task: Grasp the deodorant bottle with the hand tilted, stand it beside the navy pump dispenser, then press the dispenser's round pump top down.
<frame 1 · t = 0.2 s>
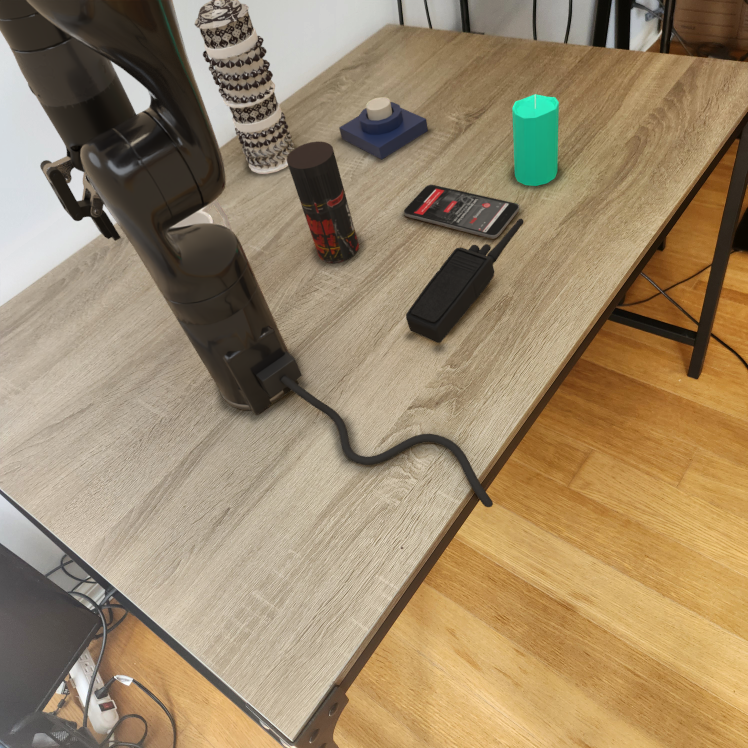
hand: (148, 216, 73), 18 cm above the table, tool pointing down, fingers open, 8 cm apart
smartphone: (460, 213, 91), on the table
dispenser: (384, 135, 109), on the table
deodorant: (338, 250, 91), on the table
decorative candle: (273, 160, 111), on the table
candle: (535, 174, 94), on the table
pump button: (379, 109, 105), point 5 cm above the table, slide at 0.1 cm
cup: (220, 279, 92), on the table
walkie-talkie: (469, 291, 81), on the table
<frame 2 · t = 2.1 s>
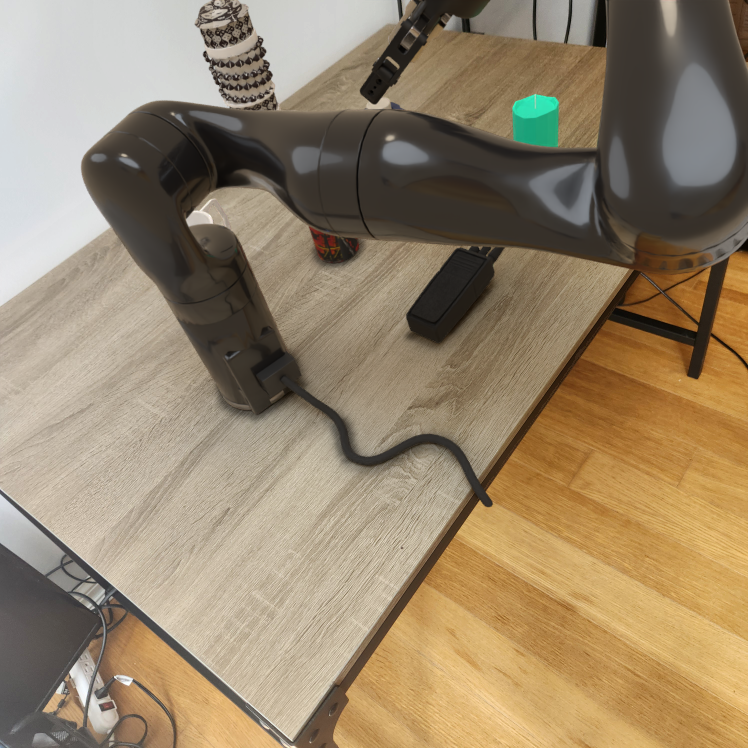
hand: (382, 76, 68), 25 cm above the table, tool tilted 45°, fingers open, 8 cm apart
nothing on the table moved.
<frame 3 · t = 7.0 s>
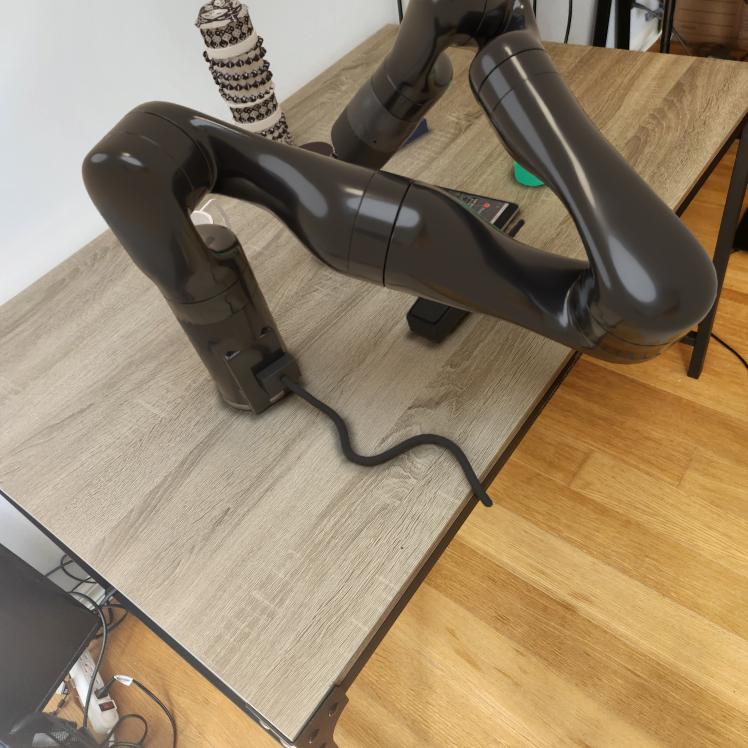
hand: (313, 202, 86), 8 cm above the table, tool tilted 45°, fingers closed on deodorant, 6 cm apart
deodorant: (338, 250, 91), on the table, touching gripper
everything else where it was.
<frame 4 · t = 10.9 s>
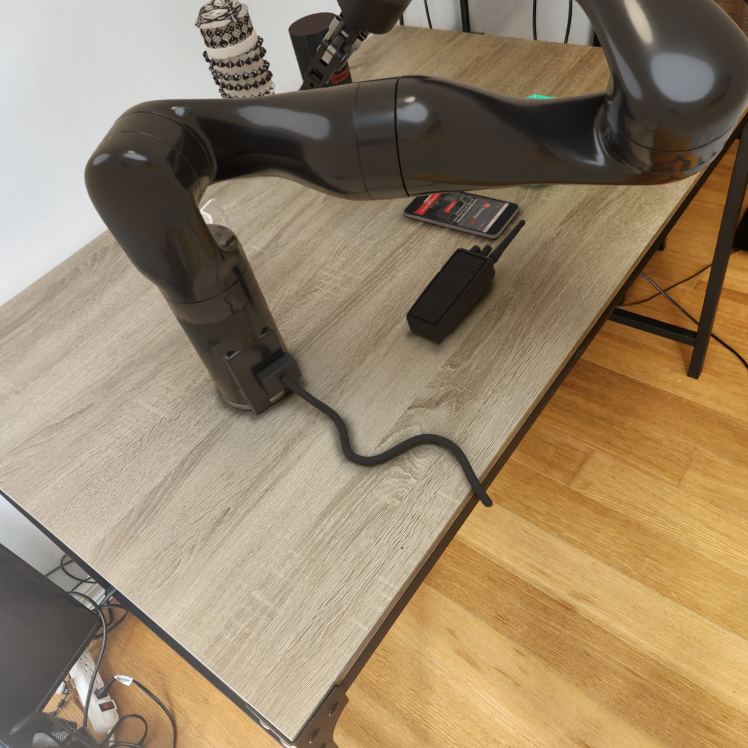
hand: (316, 84, 81), 20 cm above the table, tool tilted 45°, fingers closed on deodorant, 6 cm apart
deodorant: (343, 142, 86), point 12 cm above the table, touching gripper
everything else where it was.
when the fingers open (8 cm above the table, at t = 14.9 s): deodorant stays where it is, on the table.
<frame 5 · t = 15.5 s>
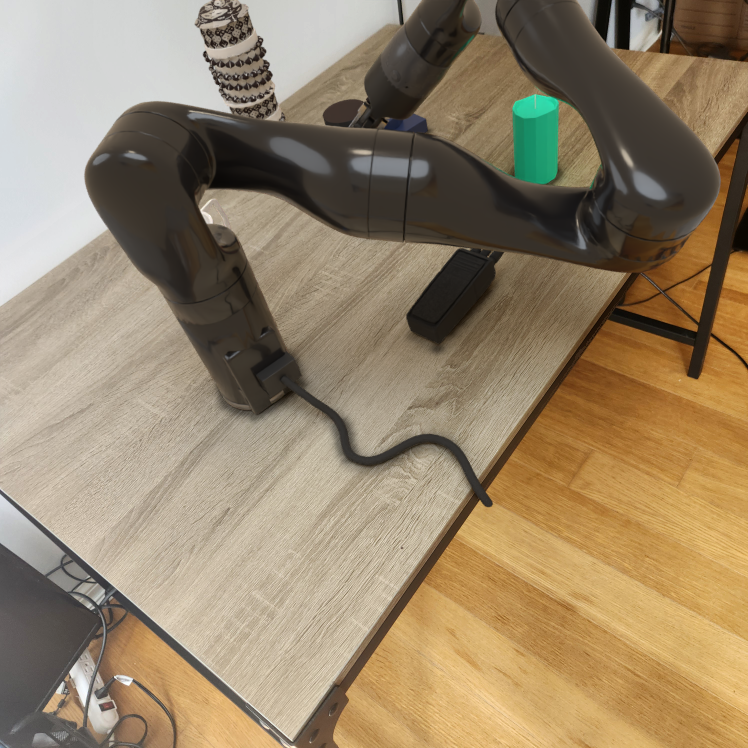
hand: (344, 151, 91), 9 cm above the table, tool tilted 45°, fingers open, 8 cm apart
deodorant: (367, 206, 97), on the table
everything else where it was.
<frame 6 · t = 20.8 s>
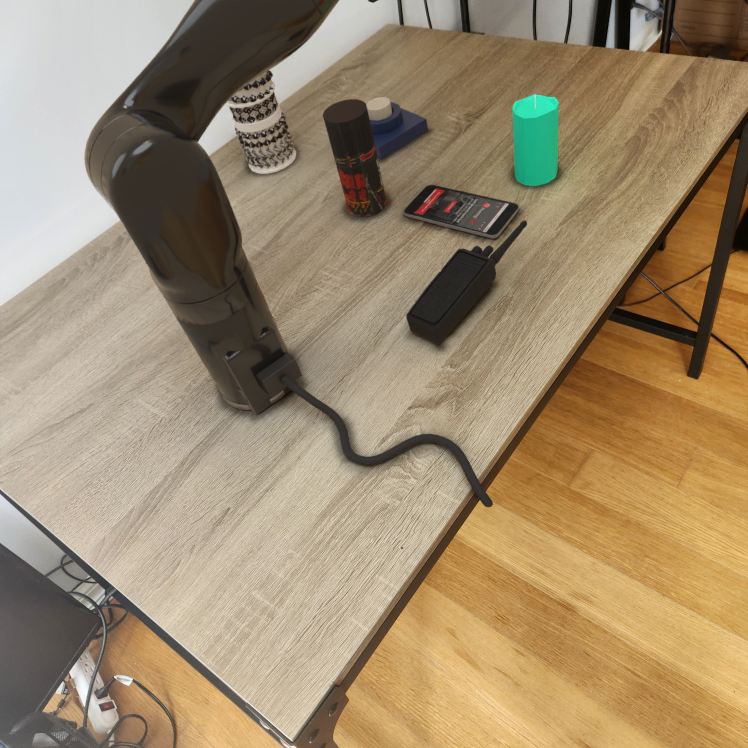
nothing on the table moved.
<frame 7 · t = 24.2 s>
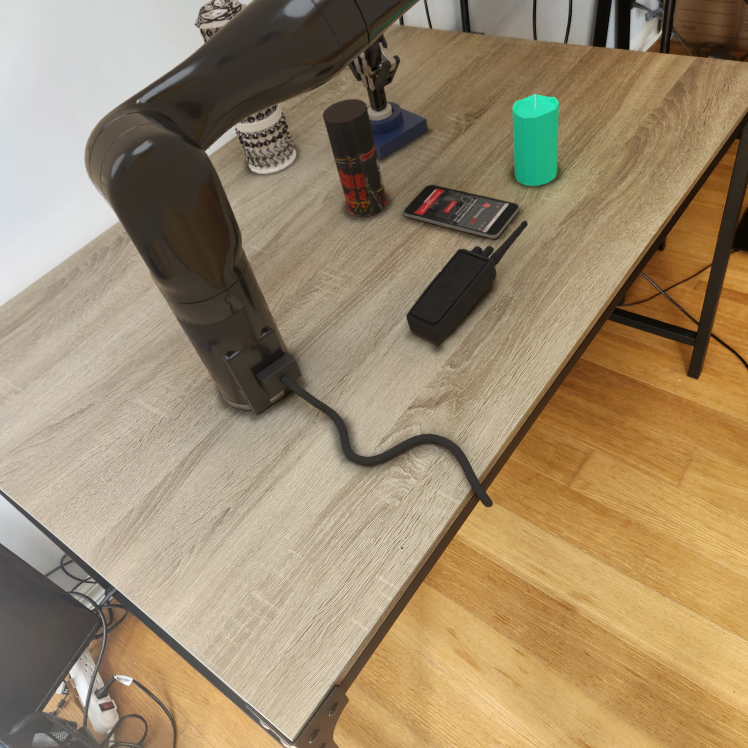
hand: (379, 108, 105), 5 cm above the table, tool pointing down, fingers closed
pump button: (380, 114, 106), point 4 cm above the table, slide at -0.8 cm, touching gripper
everything else where it was.
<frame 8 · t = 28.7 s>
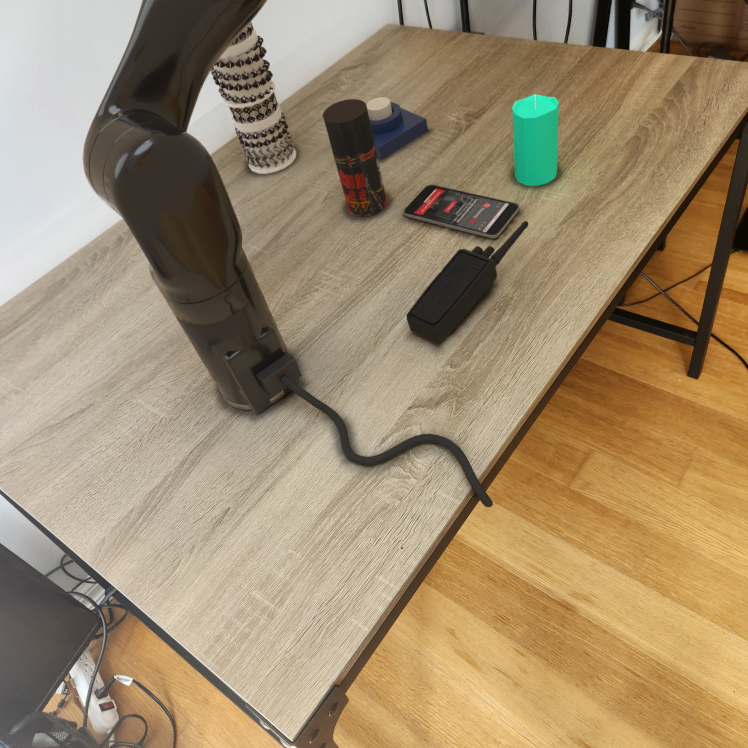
hand: (205, 19, 83), 27 cm above the table, tool pointing down, fingers closed
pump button: (379, 109, 105), point 5 cm above the table, slide at 0.1 cm
everything else where it was.
at the end: deodorant 0.2 cm from the target spot, on the table; deodorant tilted 0°; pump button pushed in 1.1 cm at the most during the clip, back to where it started at the end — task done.
